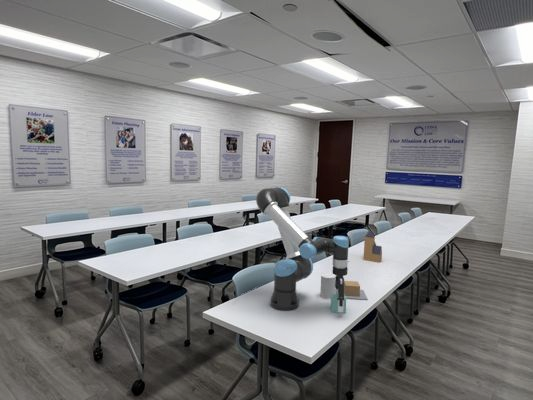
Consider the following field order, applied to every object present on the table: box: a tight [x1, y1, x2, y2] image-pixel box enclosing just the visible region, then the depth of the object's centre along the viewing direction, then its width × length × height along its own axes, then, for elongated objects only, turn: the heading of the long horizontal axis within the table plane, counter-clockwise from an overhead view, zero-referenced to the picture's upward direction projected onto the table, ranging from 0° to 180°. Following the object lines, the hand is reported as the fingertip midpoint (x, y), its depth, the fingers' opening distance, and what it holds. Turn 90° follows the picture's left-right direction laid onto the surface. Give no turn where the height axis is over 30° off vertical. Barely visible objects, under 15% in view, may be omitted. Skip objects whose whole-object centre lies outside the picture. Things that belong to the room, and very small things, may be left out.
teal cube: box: [330, 294, 347, 314], centre depth 177 cm, size 7×7×7 cm
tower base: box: [344, 280, 369, 301], centre depth 198 cm, size 16×14×7 cm
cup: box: [319, 272, 336, 300], centre depth 195 cm, size 8×8×12 cm
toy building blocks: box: [362, 229, 383, 264], centre depth 272 cm, size 12×19×25 cm, turn 148°
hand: (339, 306), depth 177 cm, fingers open, 13 cm apart
